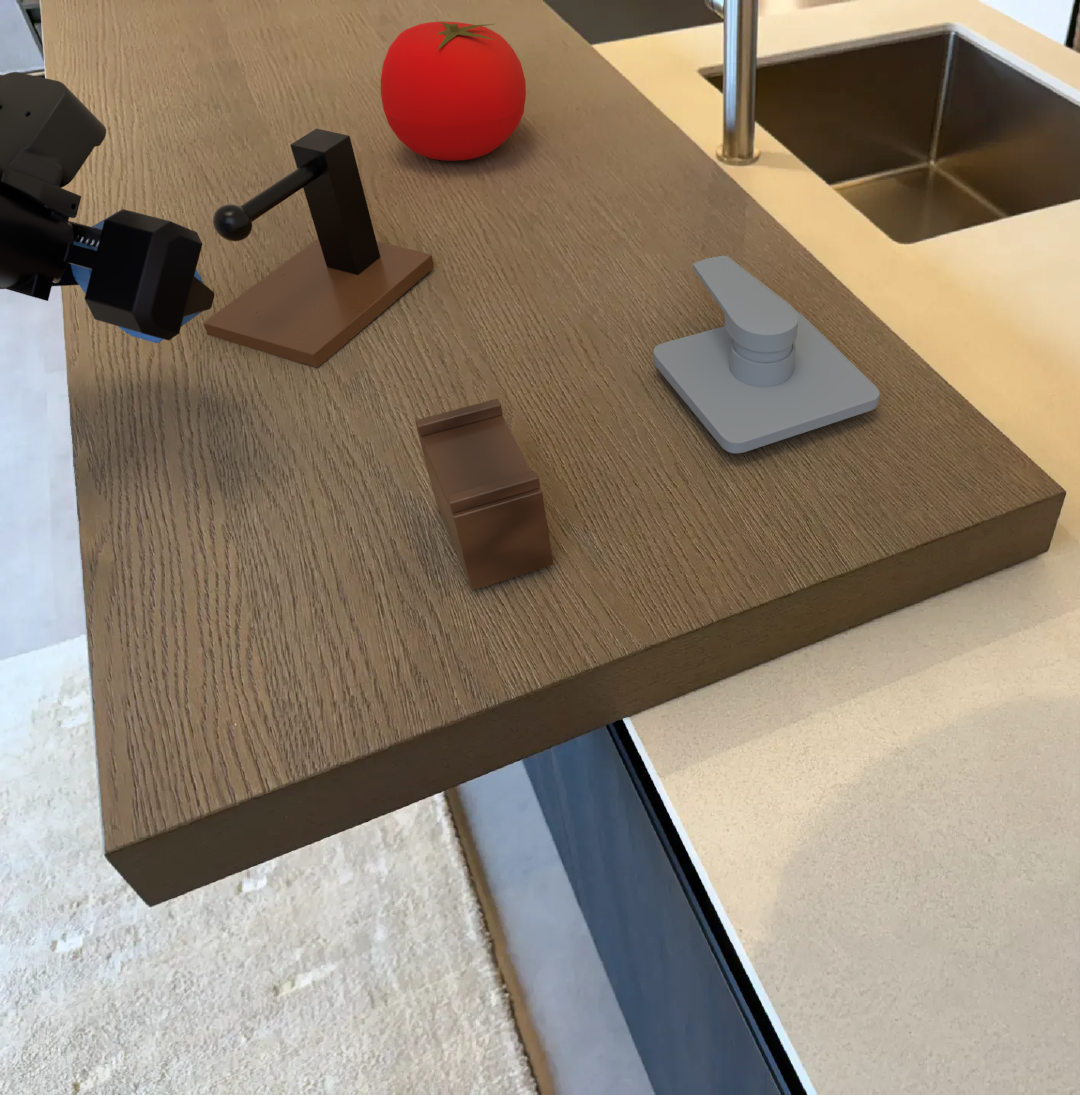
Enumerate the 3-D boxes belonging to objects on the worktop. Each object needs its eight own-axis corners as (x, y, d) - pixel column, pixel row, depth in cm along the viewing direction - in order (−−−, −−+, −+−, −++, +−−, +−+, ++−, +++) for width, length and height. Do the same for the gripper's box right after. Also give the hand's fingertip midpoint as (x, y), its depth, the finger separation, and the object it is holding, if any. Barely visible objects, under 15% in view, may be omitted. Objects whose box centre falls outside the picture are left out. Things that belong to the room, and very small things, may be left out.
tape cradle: (471, 591, 60) (450, 507, 55) (435, 501, 65) (413, 416, 60) (554, 565, 62) (540, 480, 57) (512, 478, 67) (496, 394, 62)
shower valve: (781, 237, 78) (896, 341, 69) (776, 300, 82) (884, 406, 73) (631, 274, 73) (733, 390, 64) (633, 339, 77) (729, 457, 68)
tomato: (369, 140, 100) (342, 14, 92) (497, 109, 106) (482, -12, 98) (425, 192, 93) (401, 60, 85) (558, 155, 99) (548, 30, 91)
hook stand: (317, 368, 75) (270, 226, 67) (207, 336, 77) (149, 196, 69) (434, 267, 85) (405, 133, 76) (333, 242, 87) (295, 109, 79)
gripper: (100, 75, 49) (315, 193, 64) (-179, 15, 53) (83, 138, 68) (42, 305, 49) (268, 368, 64) (-229, 225, 54) (41, 301, 69)
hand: (163, 287), depth 66 cm, fingers closed on tape roll, 7 cm apart
